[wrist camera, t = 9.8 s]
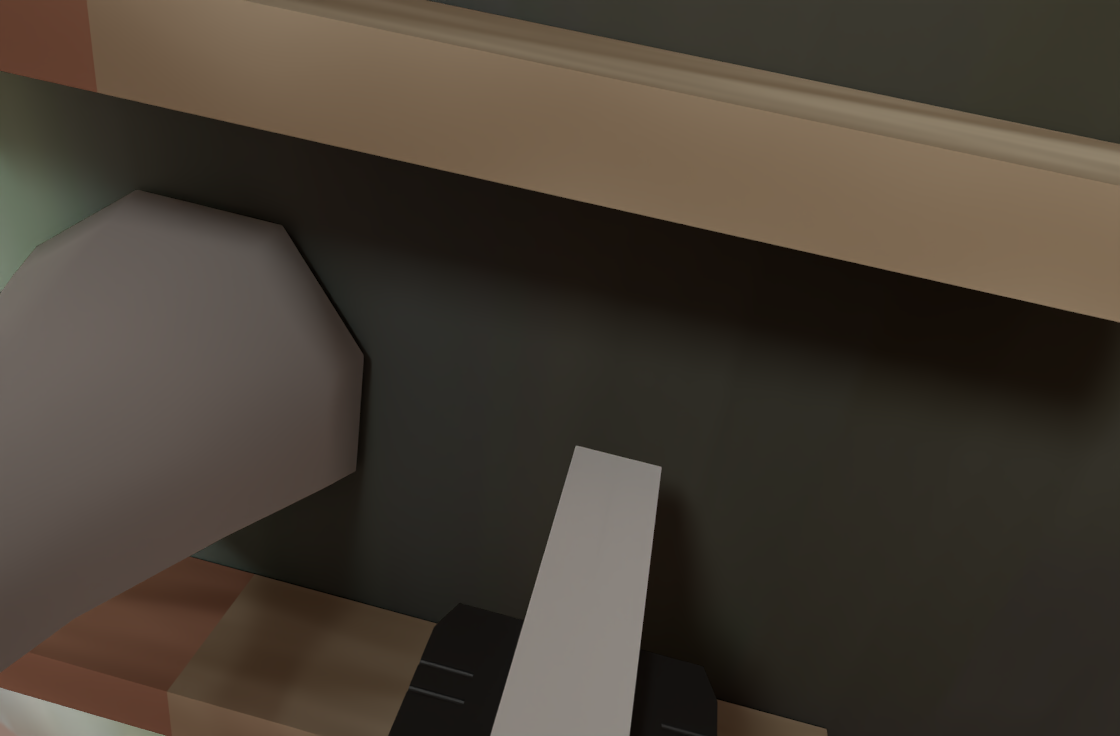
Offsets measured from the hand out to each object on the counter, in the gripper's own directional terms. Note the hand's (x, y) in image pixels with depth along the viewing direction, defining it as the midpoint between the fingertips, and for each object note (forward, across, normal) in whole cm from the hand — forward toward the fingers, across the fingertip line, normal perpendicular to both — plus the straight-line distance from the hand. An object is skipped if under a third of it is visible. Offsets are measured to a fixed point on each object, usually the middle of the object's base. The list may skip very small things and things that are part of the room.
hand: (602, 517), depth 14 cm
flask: (+2, -9, 0) cm, 9 cm away
